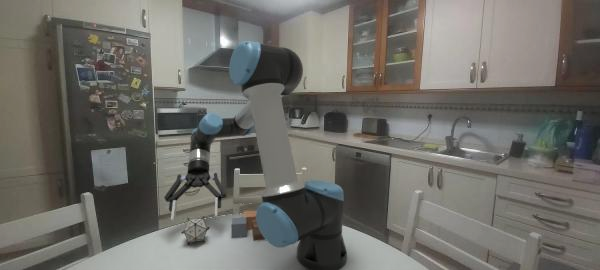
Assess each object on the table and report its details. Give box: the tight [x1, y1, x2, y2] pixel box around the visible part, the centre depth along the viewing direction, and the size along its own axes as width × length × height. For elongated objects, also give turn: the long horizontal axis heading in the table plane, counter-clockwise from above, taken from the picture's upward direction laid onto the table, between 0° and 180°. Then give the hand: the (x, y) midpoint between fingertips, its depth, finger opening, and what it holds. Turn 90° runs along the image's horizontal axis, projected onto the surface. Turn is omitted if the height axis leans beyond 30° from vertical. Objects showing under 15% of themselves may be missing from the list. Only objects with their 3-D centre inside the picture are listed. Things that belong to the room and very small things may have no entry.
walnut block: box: [251, 220, 266, 241], centre depth 92 cm, size 5×5×5 cm
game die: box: [181, 215, 210, 246], centre depth 87 cm, size 9×8×10 cm
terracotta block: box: [242, 210, 257, 231], centre depth 98 cm, size 5×5×5 cm
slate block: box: [230, 216, 247, 239], centre depth 93 cm, size 5×5×5 cm
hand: (194, 218), depth 88 cm, fingers open, 13 cm apart
